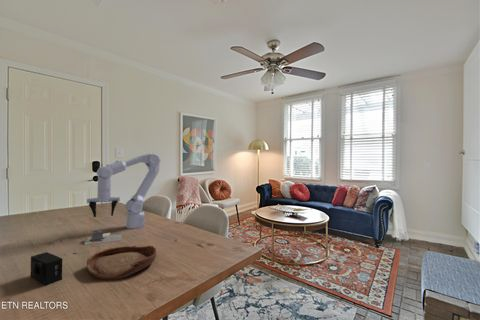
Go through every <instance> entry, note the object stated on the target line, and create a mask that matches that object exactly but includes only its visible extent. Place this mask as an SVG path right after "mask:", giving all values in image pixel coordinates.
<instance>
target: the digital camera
mask: <svg viewBox="0 0 480 320" xmlns="http://www.w3.org/2000/svg"><path fill="white" fill-rule="evenodd" d="M30 278H31V279H33V281H36V282H38V283H39V284H42V285H44V286H45V287H46V286H49V285H53V284H54V283H57V282H59V281H61V280H63V258H62V257H61V256H60V257H59V256H58V255H55V254H52V253H50V252H48V251H45V252H41V253H38V254H35V255H32V256H30Z"/></svg>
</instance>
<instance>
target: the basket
mask: <svg viewBox="0 0 480 320" xmlns="http://www.w3.org/2000/svg"><path fill="white" fill-rule="evenodd" d="M156 257H157V248H156V247H154V246H153V245H147V246H146V245H145V246H127V245H126V246H118V247H115V248H113V247H112V248H107V249H103V250H99V251H98V252H95V253H93V254H91V256H89V257H87V261H86V267H87V270H88V272H89V273H90V274H91V275H92V276H94V277H96V278H97V279H101V280H102V279H103V280H111V281H112V280H120V279H125V278H126V277H129V276H131V275H133V274H135V273H137V272H139V271H141V270H143V269H145V268H146V267H148V266H149V265H151V264H153V262H154V261H156Z"/></svg>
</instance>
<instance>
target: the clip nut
mask: <svg viewBox="0 0 480 320" xmlns="http://www.w3.org/2000/svg"><path fill="white" fill-rule="evenodd" d="M103 234H104V232H103V230H101V229H98V230H92V231H91V232H90V237H91V239H92V240H91V241H100V240H102V239H103Z"/></svg>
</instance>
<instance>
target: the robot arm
mask: <svg viewBox="0 0 480 320" xmlns="http://www.w3.org/2000/svg"><path fill="white" fill-rule="evenodd" d="M139 163H143V164H145V165H146V167H147V169H148V172H147V173H146V174H145V177H144V178H143V180H142V182H141V184H140V186H139V187H138V189H137V190H136V192H135V194H134V195H133V196H131V197H130V199H129V200H128V201H126V203H125V209H126V210H127V211H126V224H125V225H126V227H125V228H126V229H128V230H133V229H141V228H145V226H146V225H145V224H146V222H145V211H142V210H143V205H144V203H145V197H146V195H147V194H148V192H149V190H150V188H151V187H152V184H153V183H154V181H155V180H156V178H157V176H158V174H159V172H160V163H161V159H160V156H159V154H157V153H145V154H141V155H138V156H135V157H133V158H131V159H128V160H126V161H123V160H115V162H113V163H110V164H106V165H105V166H100V167H99V168H98V169H97V171H96V175H97V197H95V198H87V199H86V204H88V206H89V208H90V209H91V212H92V216H93V218H96V217H97V203H109V202H111V204H110V205H111V212H110V215H111V216H112V217H113V216H114V212H115V211H114V210H115V208H116V206H117V204H118V203H119V202H121V197H119V196H118V197H111V177H112V176H115V175H118V174H119V173H122V172H124V171H126V170H127V168H128V167H131V166H134V165H137V164H139Z"/></svg>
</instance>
